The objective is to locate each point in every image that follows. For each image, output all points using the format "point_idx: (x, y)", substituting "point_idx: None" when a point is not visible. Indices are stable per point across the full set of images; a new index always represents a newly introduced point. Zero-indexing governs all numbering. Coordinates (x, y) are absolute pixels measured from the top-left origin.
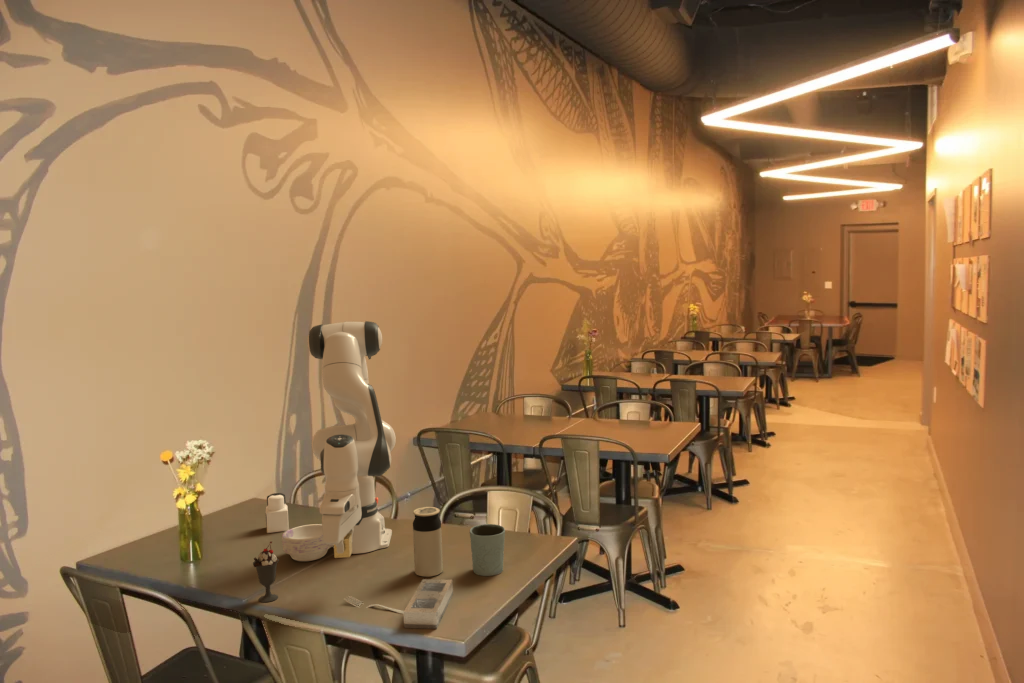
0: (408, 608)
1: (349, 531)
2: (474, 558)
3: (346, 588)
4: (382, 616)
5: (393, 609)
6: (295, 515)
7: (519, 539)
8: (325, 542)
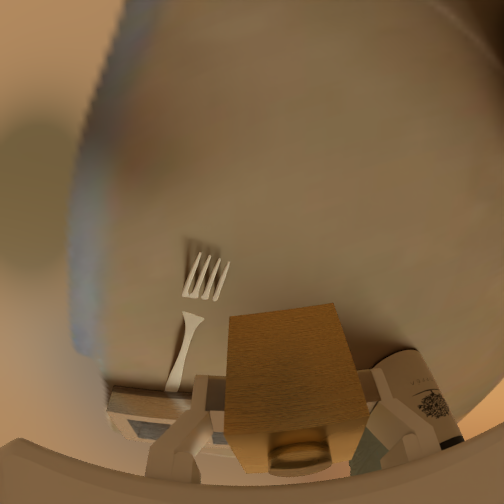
0: (122, 416)
1: (396, 439)
2: (367, 443)
3: (330, 214)
4: (145, 352)
5: (178, 368)
6: None
7: (460, 410)
8: (4, 447)
